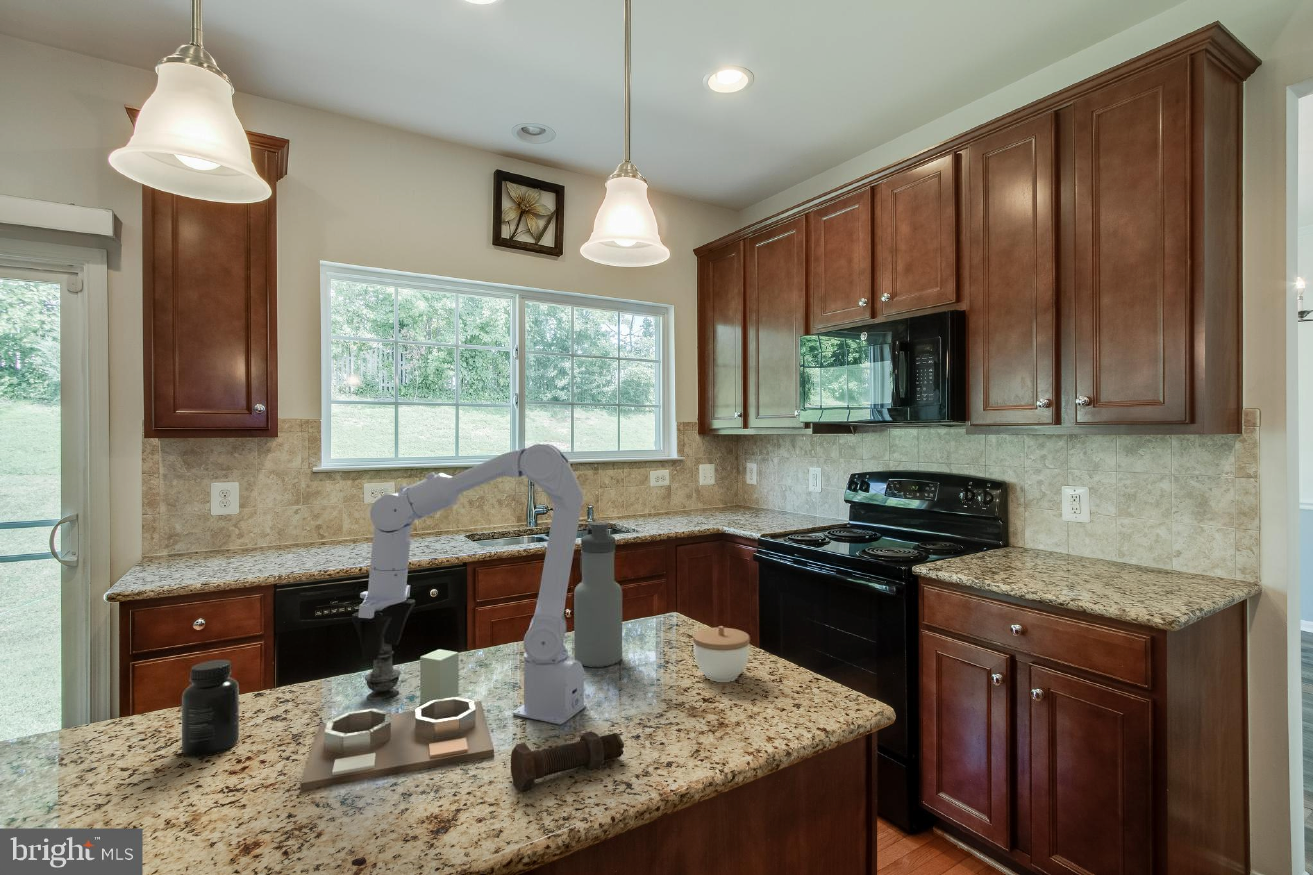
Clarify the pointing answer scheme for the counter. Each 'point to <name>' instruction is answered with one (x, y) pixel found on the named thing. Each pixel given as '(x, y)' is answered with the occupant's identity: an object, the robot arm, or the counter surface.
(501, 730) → the counter surface
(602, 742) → the bolt
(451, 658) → the sage plug
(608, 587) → the water bottle
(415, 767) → the walnut board
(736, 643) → the lidded jar
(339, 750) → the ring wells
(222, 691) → the supplement bottle
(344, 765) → the tags
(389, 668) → the salt shaker
